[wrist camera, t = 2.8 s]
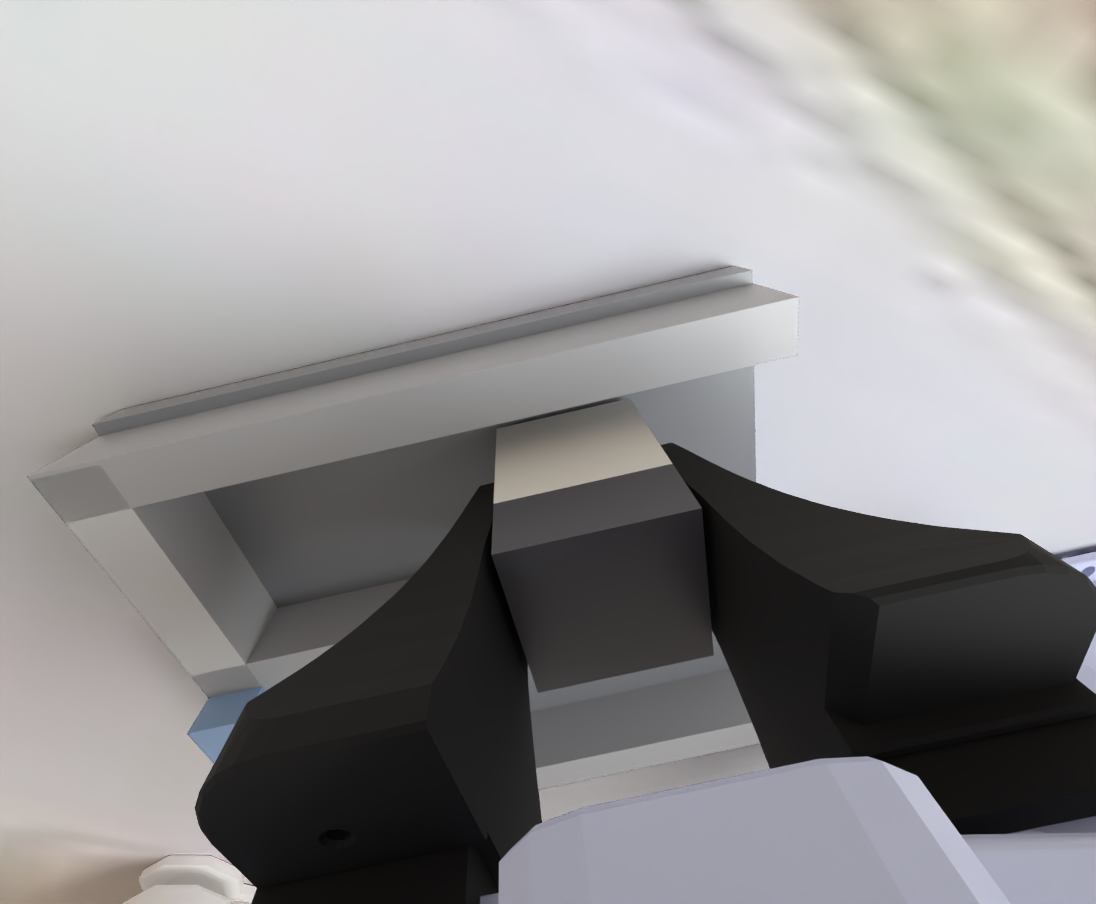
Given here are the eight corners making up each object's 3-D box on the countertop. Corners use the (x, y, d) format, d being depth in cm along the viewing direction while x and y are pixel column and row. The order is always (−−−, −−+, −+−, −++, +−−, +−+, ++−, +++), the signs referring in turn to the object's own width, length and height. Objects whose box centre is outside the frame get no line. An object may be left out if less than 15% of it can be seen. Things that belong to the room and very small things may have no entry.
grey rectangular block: (628, 398, 12) (702, 508, 8) (645, 509, 14) (713, 655, 9) (496, 428, 12) (491, 554, 8) (527, 535, 14) (538, 693, 9)
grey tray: (734, 265, 12) (830, 288, 8) (747, 667, 19) (804, 773, 15) (121, 409, 12) (-34, 489, 9) (350, 752, 19) (315, 875, 16)
